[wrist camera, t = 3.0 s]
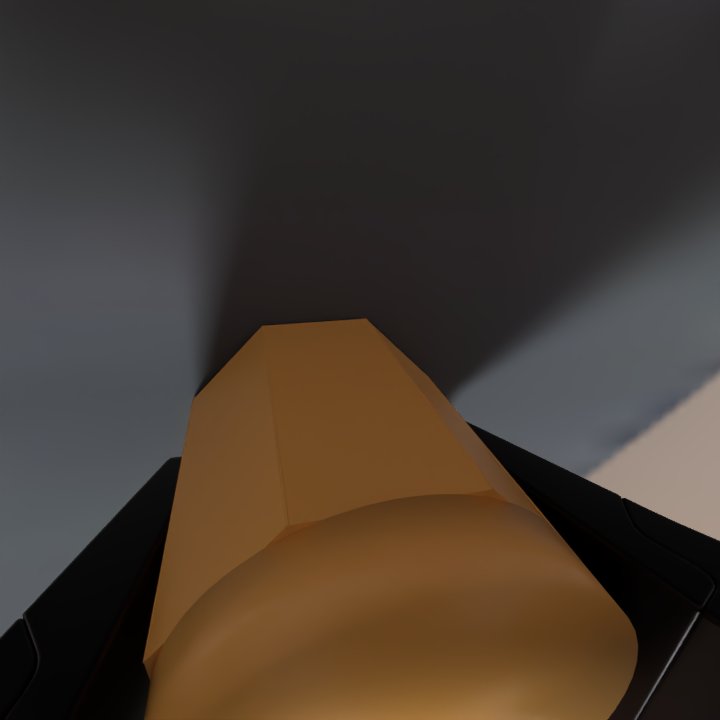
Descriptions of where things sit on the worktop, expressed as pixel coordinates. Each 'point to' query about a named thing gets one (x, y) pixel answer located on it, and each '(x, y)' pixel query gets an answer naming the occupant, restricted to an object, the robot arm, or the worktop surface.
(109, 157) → the worktop surface
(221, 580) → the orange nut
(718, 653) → the robot arm
